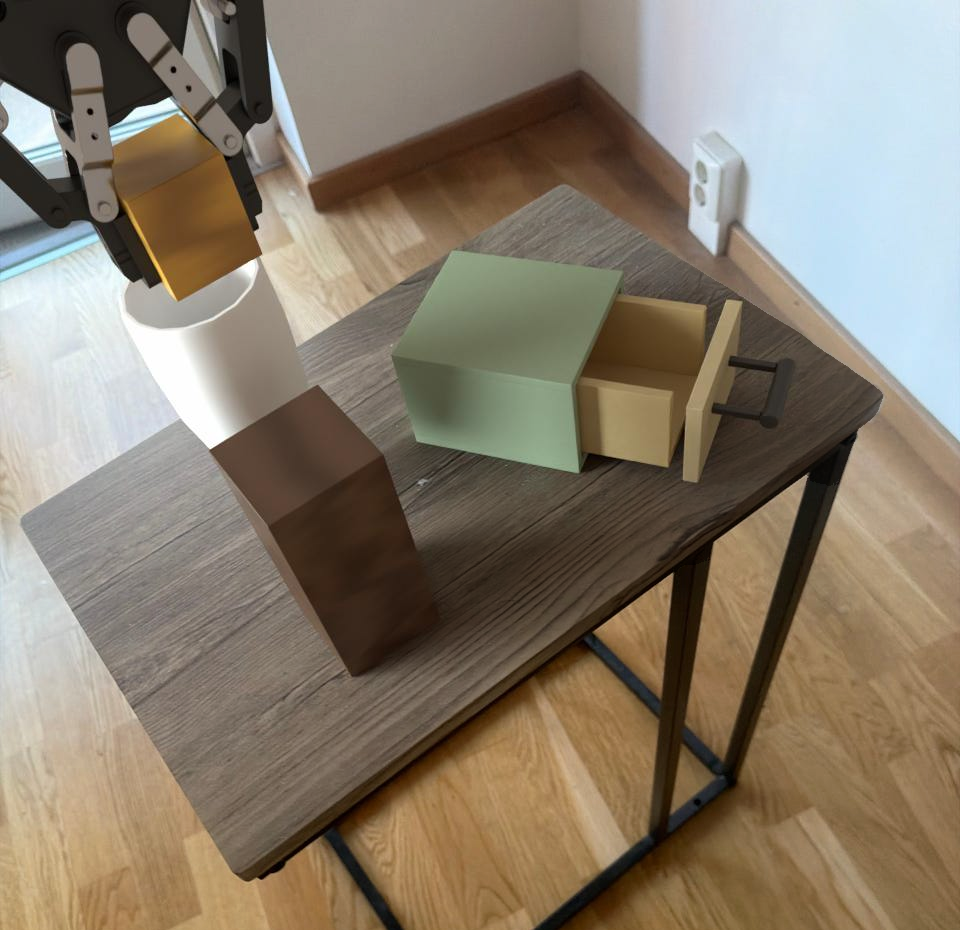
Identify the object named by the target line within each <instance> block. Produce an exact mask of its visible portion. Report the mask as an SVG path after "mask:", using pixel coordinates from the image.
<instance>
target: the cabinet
mask: <svg viewBox="0 0 960 930" xmlns="http://www.w3.org/2000/svg"><path fill="white" fill-rule="evenodd" d="M624 273H625V272H624V270H617V269H608V268H601V267H594V266H585V265H577V264H570V263H561V262H552V261H545V260H536V259H529V258H520V257H511V256H504V255H497V254H490V253H489V254H486V253H482V252H481V253H480V252H471V251H465V250H464V251H463V250H456V249H452V251H451V252H450V254H449V256H448V258H447V259H446V261H445V263H444V264H443V266H442V268H441V269H440V271H439V273H438V274H437V276H436V278H435V280H434V282H433V283H432V285H431V286H430V288H429V289H428V292H427V293H426V295H425V296H424V298H423V300H422V302H421V303H420V305H419V307H418V308H417V310H416V312H415V314H414V315H413V316H412V319H411V320H410V322H409V324H408V325H407V327H406V329H405V331H404V333H403V334H402V336H401V337H400V339H399V340H398V342H397V345H396V346H395V348H394V349H393V351H392V353H391V354H390V357H391V361H392V363H393V367H394V371H395V374H396V377H397V381H398V385H399V387H400V390H401V393H402V398H403V400H404V404H405V407H406V410H407V413H408V417H409V420H410V423H411V427H412V431H413V433H414V436H415V437H414V438H415V440H416V442H417V443H422V444H427V445H432V446H437V447H442V448H446V449H452V450H458V451H463V452H466V453H472V454H477V455H482V456H488V457H493V458H496V459H497V458H499V459H502V460H507V461H513V462H519V463H523V464H529V465H534V466H539V467H544V468H549V469H554V470H558V471H563V472H569V473H574V474H580V473H581V471H582V469H583V468H584V464H585V462H586V459H587V457H588V455H589V453H588V452H583V451H581V443H580V431H579V420H578V408H577V397H576V383H577V381H578V379H579V377H580V375H581V372H582V370H583V368H584V366H585V364H586V361H587V359H588V357H589V355H590V353H591V350H592V348H593V346H594V344H595V342H596V339H597V337H598V335H599V333H600V331H601V328H602V326H603V324H604V322H605V320H606V317H607V315H608V313H609V311H610V309H611V306H612V304H613V302H614V300H615V298H616V295H617V294H623V295H625V274H624Z"/></svg>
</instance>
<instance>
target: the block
mask: <svg viewBox="0 0 960 930" xmlns="http://www.w3.org/2000/svg"><path fill="white" fill-rule="evenodd" d="M112 149H113V155H114V163H113V164H112V171H113V177H114V183H115V188H116V194H117V200H118V204H119V205H120V207H121V208H122V209H123V210H124V211H125V212H126V213H127V215H128V217H129V219H130V220H131V222H132V224H133V226H134V228H135V230H136V232H137V234H138V236H139V238H140V240H141V242H142V243H143V245H144V247H145V249H146V251H147V253H148V255H149V257H150V259H151V261H152V263H153V265H154V266H155V268H156V270H157V272H158V274H159V276H160V278H161V280H162V282H161V284H162V285H163V286H164V287H165V288H166V290H167V291H168V292H169V293H170V294H171V295H172V296H173V298H174V299H175V300H176V301H177V302H179V301H181V300H182V299H184V298H186V297H188V296H190V295H191V294H193V293H195V292H197V291H198V290H200V289H202V288H204V287H206V286H207V285H209V284H211V283H213V282H215V281H216V280H218V279H220V278H222V277H223V276H225V275H227V274H229V273H231V272H232V271H234V270H236V269H238V268H239V267H241V266H243V265H245V264H247V263H248V262H250V261H252V260H254V259H256V258H257V257H261V256H263V251H262V248H261V246H260V243H259V241H258V239H257V236H256V233H255V231H253V229H252V226H251V224H250V221H249V219H248V216H247V214H246V211H245V209H244V206H243V204H242V201H241V199H240V196H239V194H238V191H237V189H236V186H235V184H234V181H233V179H232V176H231V174H230V171H229V169H228V166H227V164H226V161H225V159H224V156H223V154H222V153H221V152H220V151H219V150H218V149H217V148H216V147H215V146H214V145H213V144H211V143H210V142H209V141H208V140H207V139H206V138H205V137H204V136H203V135H201V134H200V133H199V132H198V131H197V130H196V129H195V128H194V126H193V125H192V124H191V123H190V122H189V121H188V120H186V119H185V118H184V117H183V116H182V115H180V114H179V113H178V112H177V113H174V114H172V115H170V116H169V117H167V118H164V119H163V120H161V121H159V122H157V123H155V124H153V125H151V126H150V127H147V128H144V129H143V130H141V131H139V132H138V133H135V134H134V135H132V136H130V137H128V138H126V139H124V140H122V141H120V142H117V143H116V144H114V145H112Z"/></svg>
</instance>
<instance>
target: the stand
mask: <svg viewBox="0 0 960 930" xmlns="http://www.w3.org/2000/svg"><path fill="white" fill-rule="evenodd" d="M208 453H209V454H210V455H209V456H211V458H212V460H213V462H214V463H215V465H216V467H217V468H218V470H219V472H220V474H221V475H222V477H223V479H224V480H225V482H226V484H227V485H228V487H229V488H230V490H231V492H232V494H233V496H234V498H235V499H236V501H237V503H238V505H239V506H240V508H241V509H242V511H243V513H244V515H245V517H246V518H247V520H248V521H249V523H250V525H251V527H252V528H253V531H254V532H255V533H256V535H257V537H258V539H259V540H260V542H261V544H262V546H263V548H264V549H265V550H266V553H267V554H268V556H269V558H270V560H271V561H272V563H273V564H274V566H275V568H276V569H277V572H278V573H279V575H280V577H281V578H282V580H283V583H284V584H285V585H286V586H287V589H288V590H289V592H290V594H291V595H292V597H293V599H294V601H295V603H296V604H297V606H298V607H299V609H300V611H301V612H302V613H303V615H304V616H305V617H306V618H307V620H308V622H309V623H310V624H311V626H312V627H313V628H314V630H315V631H316V632H317V633H318V635H319V636H320V638H321V639H322V640H323V641H324V643H325V644H326V645H327V647H328V648H329V649H330V651H331V653H332V654H333V655H334V656H335V657H336V659H337V661H338V662H339V663H340V664H341V665H342V667H343V668H344V669H345V671H346V672H347V673H348V675H349V676H350V677H351V678H354V677H355V676H357V675H358V674H360V673H362V672H363V671H364V670H366V669H367V668H369V667H370V666H372V665H373V664H374V663H376V662H378V661H379V660H381V659H382V658H384V657H385V656H386V655H388V654H390V653H391V652H392V651H394V650H396V649H397V648H399V647H400V646H401V645H403V644H404V643H405V642H407V641H409V640H410V639H412V638H413V637H414V636H416V635H417V634H419V633H420V632H422V631H423V630H425V629H426V628H428V627H429V626H431V625H432V624H434V623H435V622H436V621H438V620H440V619H441V614H440V611H439V608H438V606H437V603H436V600H435V597H434V594H433V591H432V588H431V585H430V583H429V580H428V576H427V575H426V572H425V568H424V566H423V563H422V560H421V557H420V554H419V551H418V549H417V546H416V543H415V541H414V537H413V535H412V531H411V529H410V526H409V523H408V519H407V517H406V515H405V512H404V509H403V506H402V503H401V500H400V497H399V494H398V491H397V489H396V486H395V483H394V480H393V478H392V474H391V471H390V469H389V467H388V464H387V460H386V457H385V454H384V453H383V452H382V451H381V450H380V449H379V448H378V447H377V445H375V444H374V442H372V440H370V438H369V437H368V436H367V434H366V433H364V432H363V431H362V429H361V428H359V427H358V426H357V424H356V423H355V422H354V421H353V420H352V419H351V418H350V417H349V415H347V414H346V413H345V412H344V410H343V409H341V407H340V406H339V405H338V404H337V403H336V402H335V401H334V400H333V399H332V398H331V397H330V396H329V395H328V394H327V392H326V391H324V389H322V387H321V386H320V385H319V384H316V385H314V386H312V387H311V388H309V390H307V391H306V392H304V393H302V394H301V395H299V396H297V397H296V398H294V399H292V400H291V401H289V402H287V403H286V404H284V405H282V406H281V407H279V408H277V409H276V410H274V411H272V412H271V413H269V414H267V415H266V416H264V417H262V418H261V419H259V420H257V421H256V422H254V423H252V424H251V425H249V426H247V427H246V428H244V429H242V430H241V431H239V432H237V433H236V434H234V435H232V436H231V437H229V438H228V439H226V440H224V441H223V442H221V443H219V444H218V445H216V446H214V447H213V448H211V449H210V448H209V449H208Z"/></svg>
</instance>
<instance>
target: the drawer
mask: <svg viewBox="0 0 960 930" xmlns="http://www.w3.org/2000/svg"><path fill="white" fill-rule="evenodd" d="M707 308H708V306H707V305H705V304H699V303H691V302H683V301H675V300H669V299H661V298H653V297H646V296H645V297H644V296H638V295H630V294H629V295H628V294H624V295H623V294H617V295H616V298H615V300H614V302H613V304H612V306H611V309H610V311H609V313H608V315H607V317H606V320H605V322H604V324H603V326H602V328H601V331H600V333H599V335H598V337H597V339H596V342H595V344H594V346H593V348H592V350H591V353H590V355H589V357H588V359H587V361H586V364H585V366H584V368H583V370H582V372H581V375H580V377H579V379H578V381H577V383H576V397H577V408H578V420H579V431H580V443H581V451H583V452H588V454H593V455H599V456H605V457H609V458H610V457H611V458H614V459H615V458H616V459H621V460H626V461H631V462H636V463H643V464H648V465H653V466H657V467H661V468H662V467H663V468H670V465H671V463H672V459H673V457H674V454H675V452H676V449H677V446H678V444H679V440H680V438H681V436H682V433H683V430H684V447H683V464H682V465H683V467H682V480H683V482H684V481H685V482H691V483H695V484H699V481H700V478H701V475H702V473H703V470H704V467H705V465H706V461H707V458H708V456H709V452H710V450H711V447H712V444H713V442H714V439H715V436H716V433H717V430H718V427H719V424H720V422H721V418H722V416H724V417H725V416H726V417H730V418H731V417H732V418H739V419H744V420H750V421H756V422H758V423H759V425H760V426H761V427H762V428H763V429H767V430H773V429H775V428H777V427H778V426H779V424H780V421H781V417H782V414H783V411H784V408H785V406H786V401H787V398H788V395H789V392H790V389H791V386H792V383H793V380H794V376H795V373H796V370H797V362H796V361H795V360H794V359H792V358H790V357H782V358H781V359H779V360H778V361H772V360H764V359H757V358H752V357H743V356H738V350H739V341H740V331H741V320H742V313H743V301H742V300H734V299H726V301H725V303H724V306H723V309H722V312H721V314H720V317H719V319H718V322H717V325H716V327H715V330H714V331H713V332H714V333H713V335H712V338H711V341H710V342H709V345H708V348H707V351H706V354H705V340H706V339H705V338H706V325H707V324H706V323H707ZM704 356H705V357H704ZM736 368H738V369H745V370H751V371H757V372H758V371H759V372H764V373H770V374H773V376H772V379H771V382H770V384H769V388H768V391H767V394H766V397H765V401H764V403H763V405H762V406H763V407H762V409H757V408H751V407H744V406H738V405H732V404H727V401H728V399H729V396H730V393H731V390H732V387H733V384H734V382H735V378H736Z"/></svg>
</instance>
